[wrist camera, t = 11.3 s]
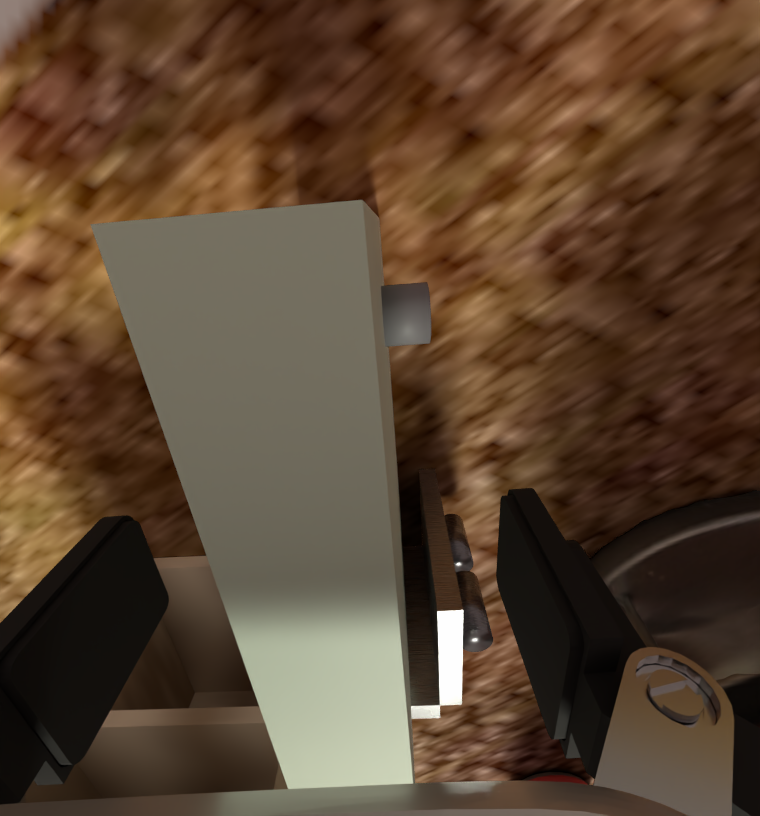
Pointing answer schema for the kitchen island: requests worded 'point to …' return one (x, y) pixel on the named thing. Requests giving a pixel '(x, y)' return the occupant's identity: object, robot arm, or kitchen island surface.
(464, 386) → the kitchen island surface
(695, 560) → the pumpkin
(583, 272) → the kitchen island surface
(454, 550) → the hinge clips
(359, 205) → the door
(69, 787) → the cabinet
